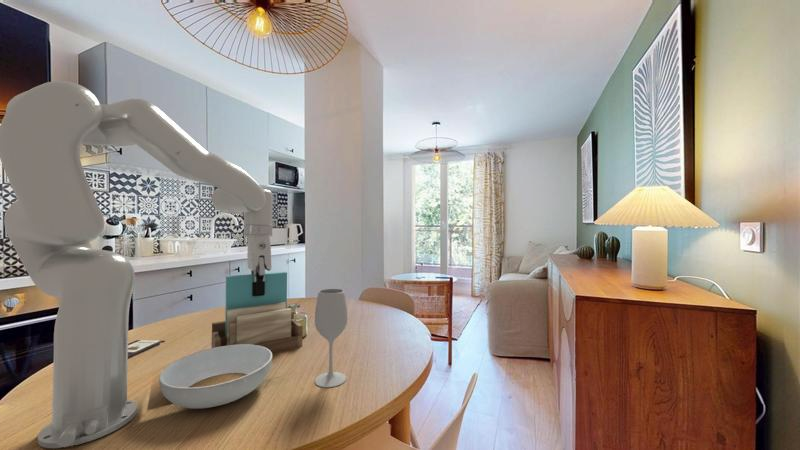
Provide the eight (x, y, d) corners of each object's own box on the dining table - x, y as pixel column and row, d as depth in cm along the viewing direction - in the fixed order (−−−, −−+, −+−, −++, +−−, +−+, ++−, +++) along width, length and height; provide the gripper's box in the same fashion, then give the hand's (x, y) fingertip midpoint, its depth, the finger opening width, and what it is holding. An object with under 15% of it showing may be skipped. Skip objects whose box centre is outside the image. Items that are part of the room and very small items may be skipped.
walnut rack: (302, 351, 89) (302, 318, 90) (214, 370, 77) (215, 332, 77) (292, 340, 98) (292, 311, 98) (211, 357, 85) (211, 322, 85)
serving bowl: (151, 394, 66) (151, 361, 66) (252, 364, 81) (253, 338, 81) (168, 441, 51) (168, 399, 51) (288, 394, 66) (288, 362, 66)
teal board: (286, 342, 92) (287, 272, 93) (225, 354, 83) (226, 277, 83) (284, 340, 94) (285, 271, 94) (224, 352, 85) (225, 276, 85)
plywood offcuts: (290, 347, 88) (291, 303, 89) (227, 360, 79) (228, 312, 79) (287, 343, 91) (288, 301, 91) (226, 356, 82) (227, 309, 82)
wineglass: (314, 390, 68) (314, 295, 68) (314, 374, 75) (314, 288, 75) (348, 385, 70) (349, 293, 70) (345, 370, 77) (345, 287, 77)
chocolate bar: (74, 365, 78) (137, 340, 96) (74, 369, 78) (137, 343, 96) (107, 366, 78) (164, 340, 96) (107, 369, 78) (164, 343, 96)
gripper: (278, 231, 85) (278, 298, 85) (266, 231, 98) (265, 289, 97) (249, 231, 80) (248, 302, 80) (239, 231, 93) (238, 291, 93)
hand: (257, 294), depth 89 cm, fingers closed on teal board, 2 cm apart
